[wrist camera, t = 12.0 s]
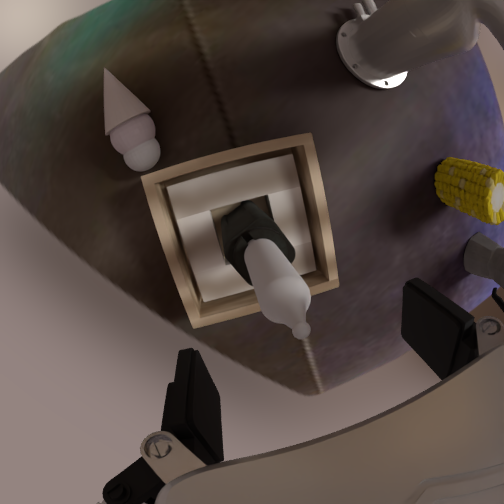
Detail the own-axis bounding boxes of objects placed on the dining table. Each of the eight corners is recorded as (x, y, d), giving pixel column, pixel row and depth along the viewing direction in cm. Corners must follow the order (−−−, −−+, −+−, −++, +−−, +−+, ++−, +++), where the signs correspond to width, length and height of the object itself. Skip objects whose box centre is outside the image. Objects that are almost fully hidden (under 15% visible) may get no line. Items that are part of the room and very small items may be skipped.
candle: (241, 250, 36) (288, 391, 13) (216, 221, 35) (222, 332, 11) (272, 226, 36) (370, 333, 12) (248, 196, 35) (321, 258, 11)
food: (456, 161, 39) (448, 208, 42) (428, 146, 35) (420, 201, 38) (518, 177, 27) (508, 231, 30) (503, 160, 23) (492, 227, 26)
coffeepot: (467, 222, 41) (536, 248, 24) (489, 221, 42) (551, 244, 25) (455, 294, 46) (512, 334, 29) (477, 287, 47) (531, 320, 30)
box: (152, 175, 33) (140, 176, 27) (296, 137, 34) (311, 132, 28) (195, 306, 39) (193, 328, 33) (322, 270, 40) (339, 286, 34)
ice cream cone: (116, 71, 27) (157, 162, 34) (76, 86, 24) (121, 184, 31) (134, 49, 23) (181, 153, 30) (89, 62, 20) (139, 176, 27)
